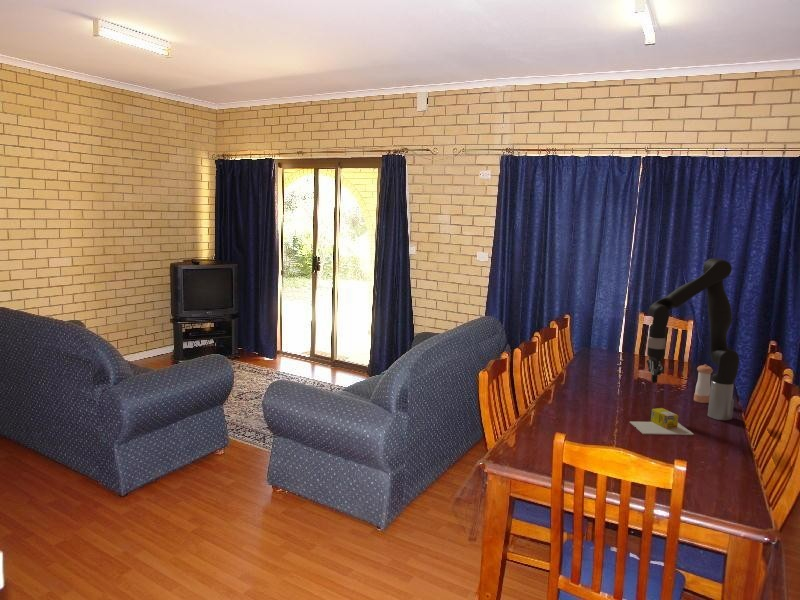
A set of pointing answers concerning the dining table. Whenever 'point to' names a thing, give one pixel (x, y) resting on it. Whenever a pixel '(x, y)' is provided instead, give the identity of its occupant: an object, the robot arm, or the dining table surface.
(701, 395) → the salt shaker
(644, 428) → the mat
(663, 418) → the supplement box
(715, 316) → the robot arm
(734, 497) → the dining table surface
